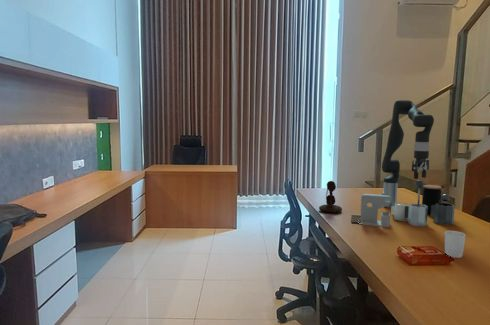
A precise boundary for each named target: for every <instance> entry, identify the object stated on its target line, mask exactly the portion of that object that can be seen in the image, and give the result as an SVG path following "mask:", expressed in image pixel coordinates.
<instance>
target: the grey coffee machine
mask: <svg viewBox="0 0 490 325" xmlns="http://www.w3.org/2000/svg"><path fill="white" fill-rule="evenodd" d="M386 198H389V199H390V201H385V199H386ZM360 201H361V202H360V219H361V220H363V221H364V222H361V223H359V222H358V221H357V223H359V224H358V225H361V224H362V226H372V227H373V226H374V227H382V228H383V227H384V228H390V225H391V212H388V211H382V212H381V214H380V220H378V212H379V210H380V209H382V208H385V207H384V206H387V205H389V204H391V203H392V198H391V196H389V195H382V194H377V193H375V194H373V193H372V194H371V193H363V194H361V199H360ZM369 203H370V204H371V206H368V204H369Z"/></svg>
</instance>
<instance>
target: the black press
mask: <svg viewBox="0 0 490 325" xmlns="http://www.w3.org/2000/svg"><path fill="white" fill-rule="evenodd" d="M450 200H451V198H450V195H449V194H447V193H444V194H441V201H442V202H441V203H436V204H435V205H431V215H430V217H432V218H433V219H434V220H433V221H434V223H436V224H438V225H441V226H442V225H443V226H452V225H454V220H455V206H456V204H455V205H454V204H452V203H448V202H449V201H450Z"/></svg>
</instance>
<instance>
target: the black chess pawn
mask: <svg viewBox="0 0 490 325" xmlns="http://www.w3.org/2000/svg"><path fill="white" fill-rule="evenodd" d="M326 188H327V189H326V195H325V202H326V204H322V205H320V206H318V210H319V211H321V212H322V214H324V213H325V212H326V213H336V214H337V215H338V214H339V213H340V212H343V208H342V207H341V206H340V205H337V204H336V198H335V195H334V193H333V192H334V191H335V190H336V188H337V186H336V183H335V182H334V181H333V180H330V181H328V182H327V183H326ZM328 191H329V192H328ZM328 193H329V194H328Z"/></svg>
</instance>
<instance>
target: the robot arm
mask: <svg viewBox="0 0 490 325" xmlns="http://www.w3.org/2000/svg"><path fill="white" fill-rule="evenodd" d="M400 115H401V116H402V115H405V116H407V117H408V119H409V120H410V121H412V124H413V126H414V127H415V128H424V129H422V130H420V131H417V132H415V137H414V139H415V141H414V147H413V149H414V150H413V158H414V159H415V160H412V163H411V172H413V179H415V180H419V171H420V170H421V178H424V179H425V178H426V177H427V172H428V171H429V169H430V159H429V155H430V134H431V131H432V128H433V125H434V122H435V119H434V116H433V115H432V114H425V113H424V112H422V111H421V110H419V109H418V107H417V106H416V105H415V103H414V102H413V101H412V100H409V99H408V100H407V99H404V100H403V99H397V100H395V101H394V103H393V107H392V116H391V124H390V128H389V129H390V130H389V133H388V137H387V142H386V149H385V152H384V156H383V159H382V163H381V171H382V172H383V173H386V174H387V173H388V174H389V175H388V176H385V177H384V178H383V187H382V188H383V191H382V192H381V195H389V196H391V198H392V203H391V204H389V205H387V206H384V207H383V208H390V209H391V206H393V207H395V204H396V203H398V190H399V189H398V185H399V177H400V168H401V163H400V161H399V159H393V158H392V157H393V155H394V154H395V153H396V151H398V149H399V148H400V147H401V146H402V144H403V141H404V136H405V133H404V129H403V128H402V126H401V124H400V119H399V118H400ZM385 201H390V199H389V198H386V199H385Z"/></svg>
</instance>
